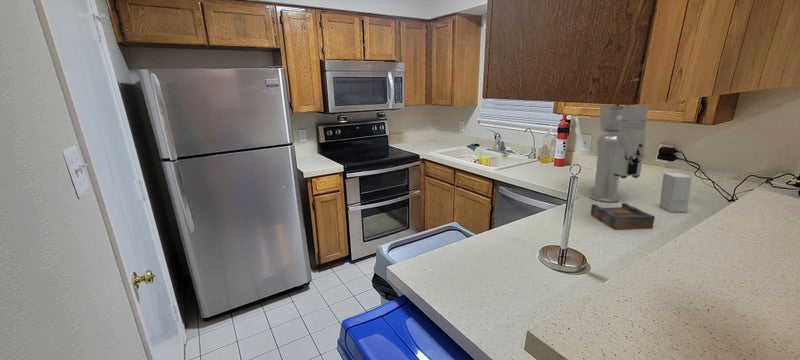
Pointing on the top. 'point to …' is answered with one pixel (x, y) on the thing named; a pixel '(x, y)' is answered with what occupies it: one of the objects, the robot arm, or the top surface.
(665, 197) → the skincare box
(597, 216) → the brown wooden tray
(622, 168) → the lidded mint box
